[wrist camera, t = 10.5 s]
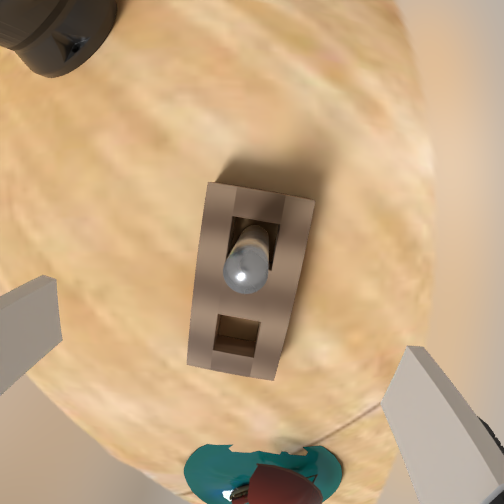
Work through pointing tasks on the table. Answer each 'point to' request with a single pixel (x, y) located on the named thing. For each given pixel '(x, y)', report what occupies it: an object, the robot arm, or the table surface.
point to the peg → (248, 261)
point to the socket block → (246, 305)
